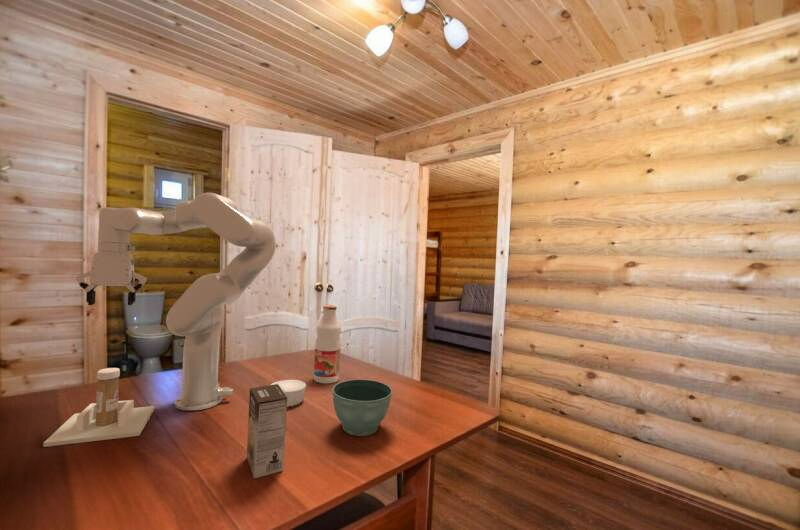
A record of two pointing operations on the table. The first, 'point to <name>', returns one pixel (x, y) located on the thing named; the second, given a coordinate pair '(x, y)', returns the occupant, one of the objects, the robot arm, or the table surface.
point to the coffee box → (266, 430)
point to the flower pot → (361, 405)
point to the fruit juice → (327, 347)
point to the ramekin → (292, 390)
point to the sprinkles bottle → (107, 396)
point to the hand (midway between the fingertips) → (111, 304)
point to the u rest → (86, 430)
